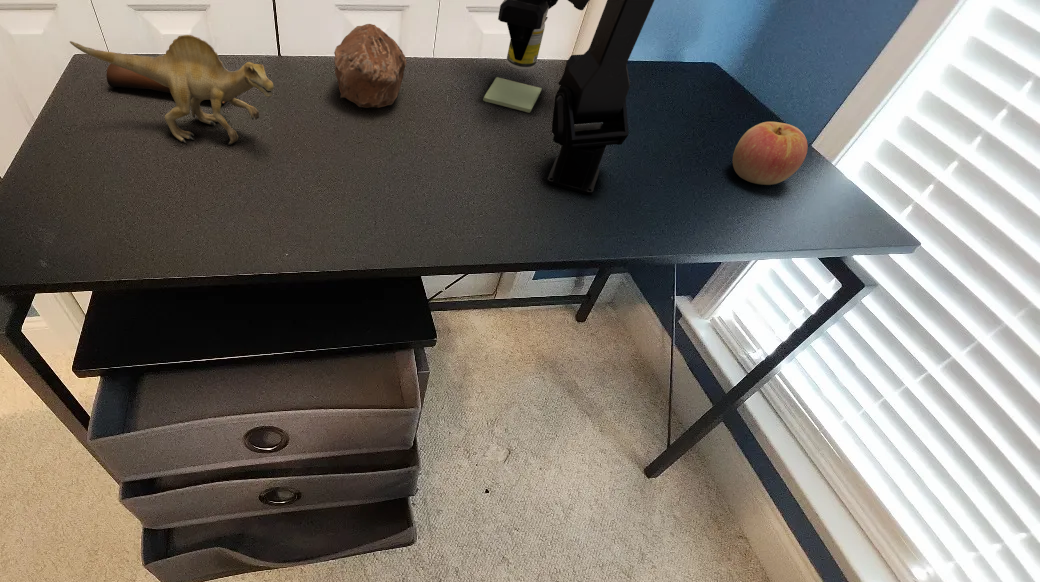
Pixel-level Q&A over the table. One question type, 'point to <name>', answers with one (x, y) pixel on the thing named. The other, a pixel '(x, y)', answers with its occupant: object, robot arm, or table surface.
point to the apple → (769, 153)
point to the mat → (512, 94)
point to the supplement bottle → (527, 52)
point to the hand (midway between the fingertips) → (522, 53)
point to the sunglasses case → (132, 79)
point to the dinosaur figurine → (193, 80)
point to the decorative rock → (369, 67)
